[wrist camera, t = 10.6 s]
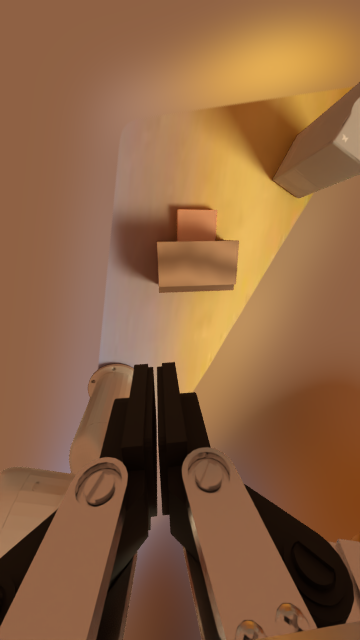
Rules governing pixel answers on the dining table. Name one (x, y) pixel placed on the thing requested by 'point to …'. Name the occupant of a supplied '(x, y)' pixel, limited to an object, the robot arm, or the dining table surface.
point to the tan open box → (197, 265)
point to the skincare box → (324, 149)
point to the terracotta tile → (196, 225)
